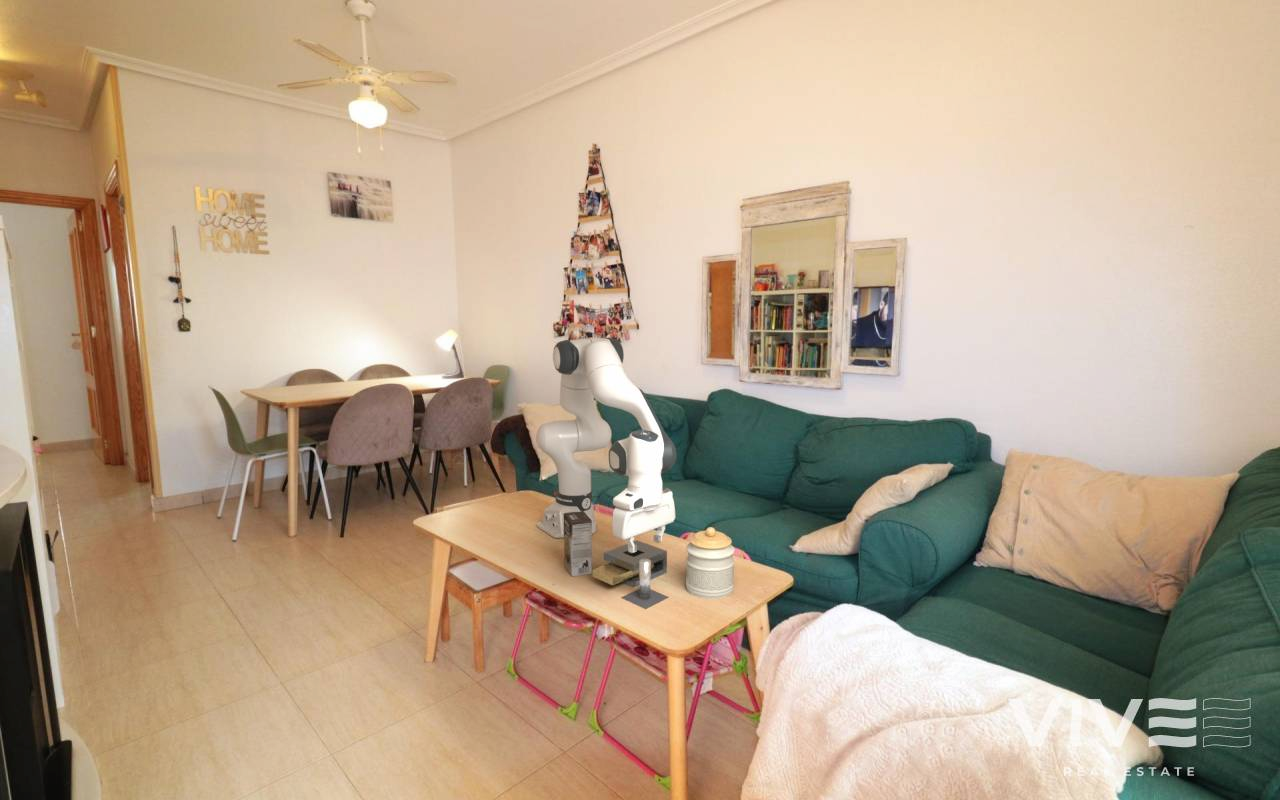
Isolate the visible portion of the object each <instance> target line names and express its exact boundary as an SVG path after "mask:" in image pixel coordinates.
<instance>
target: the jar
mask: <svg viewBox="0 0 1280 800" xmlns="http://www.w3.org/2000/svg"><path fill="white" fill-rule="evenodd" d="M732 543H733V541H732V538H731V537H729V536H728V535H726V534H725V533H723V532H720V531H718V530H716V529H715V528H714V527H712V526H709V527H707V528H706V529H705V530H700V531H697V532H696V533H695V534H693V535H691V536H690V537H689V543H687V544H686V546H685V549H686V552H687V557H686V559H685V562H686V579H685V587H686V590H687V592H688V594H690V595H692V596H695V597H697V598H700V599H703V600H704V599H705V600H720V599H719V598H721V599H724V598H723V597H725V598H727V597H729V596H731V595H732V594H733V592H734V588H735V582H734V581H735V580H734V574H735V573H734V572H735V569H734V567H735V558H734V557H733V555H734V554H735V550H736V549H735V547H734V545H732ZM732 591H733V592H732ZM731 593H732V594H731ZM730 594H731V595H730ZM728 595H729V596H728ZM726 596H727V597H726Z"/></svg>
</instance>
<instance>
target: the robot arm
mask: <svg viewBox="0 0 1280 800" xmlns="http://www.w3.org/2000/svg"><path fill="white" fill-rule="evenodd" d="M624 355H625V354H624V348H623V346H622V344H621V342H620V341H619V340H618V339H616V338H612V337H606V338H605V337H587V338H577V339H576V338H575V339H564V340H561V341H559V342H557V343H556V344H555V346H554V347H553V353H552V362H553V365H554V368H555V370H556V371H557V372H558V373H559V374H560V389H559V390H560V393H559V404H560V406H561V408H562V409H563V410H564V411H566V412H567V413H569V414H572V415H573V416H576V418H574V419H569V420H568V419H566V420H554V421H549V422H546V423H542V424H541V425H540V426H539V427H538V429H537V430H536V433H535V441H536V442H535V443H536V445H537V446H538V449H540V450H541V452H543V453H544V454H546V455H547V456H548V457H549V458H550V459H551V460H552V461H553V463H554V465H555V468H556V470H557V478H558V491H554V492H553V493H554V495H553V496H556V497H555V500H554V501H553V502H552V503H551V504H550V505H549V506H547V507H546V508H545V509H544V511H543V517H542V518H543V519H541V520H539V521H538V522H537V523H536V527H537V528H539V529H540V530H542V531H543V532H545V533H546V534H548V535H549V536H551V537H552V538H554V539H560V538H563V539H564V513H570V512H582V511H584V512H585V513H586V515H587V516H588V517H589V518H590V519H591V520H592V535H593V534H595V533H596V532H597V526H598V522H597V521H596V518H595V507H594V504H593V497H594V495H593V490H592V471H591V469H590V467H589V466H588V464H586V463H584V462H582V461H580V460H577V459H575V456H574V454H575V453H581V452H591V451H593V452H594V451H598V450H601V449H605V448H607V447H608V446H609V444H610V442H611V440H612V429H611V427H610V424H609V423H608V422H607V421H606V420H604V419H603V418H602V417H601V416H599V414H598V412H597V411H596V408H595V407H596V406H595V400H596V401H597V402H599V403H601V404H602V405H604V406H607V407H612V408H615V409H618V410H622V411H625V412H627V413H629V414H632V416H633V417H634V418H635V419H636V420H637V422H638V424H639V427H640V428H641V429H638V430H634V431H632V432H630V434H629V436H627V437H626V438H623V439H620V440H617V441H615V442H614V443H612V445H611V447H610V448H609V450H608V464H609V468H610V469H611V470H612V471H613V472H614V473H615V474H617V475H619V476H626V477H628V480H627V481H628V482H627V487H626V488H625V489H623V490H622V491H621V492H620V493H618V494H617V495H616V496H614V497H613V499H612V504H613V506H614V507H615V508H613V512H612V521H611V522H612V526H611V527H612V535H613V536H614V538H616V539H619V540H623V541H625V543H626V544H627V545H628V551H629V552H631V553H634V552H636V551H637V545H635V544H634V543H633V541H635V537H636V536H639V535H642V534H644V533H648V532H649V531H652V530H655V529H656V530H655V534H654V535H653V536H652V537H653V539H652V540H653V542H654V543H655V544H659V543H661V542H662V541H663V534H664V532H665V530H666V526H667V525H668V524H672V523H674V522H675V519H676V508H675V501H674V498H673V492H672V490H671V489H670V488H668V487H667V488H664V489H663V480H662V474H663V473H664V474H665V473H667V472H668V471H670V470H671V469H672V467H673V466H674V464H675V463H676V460H677V449H676V446H675V444H674V443H673V441H672V440H671V438H670V437H669V436H668V434H667V433H666V431H665V429H664V428H663V425H662V424H661V422H660V420H659V418H658V416H657V414H656V413H655V411H654V409H653V407H652V404H651V403H650V401H649V399H648V397H647V395H646V394H645V392H644V391H643V390H642V389H641V388H639V387H638V386H636V385H635V384H634V382H632V381H631V380H630V378H629V377H628V375H627V373H626V371H625V368H624V365H623V363H624Z"/></svg>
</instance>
